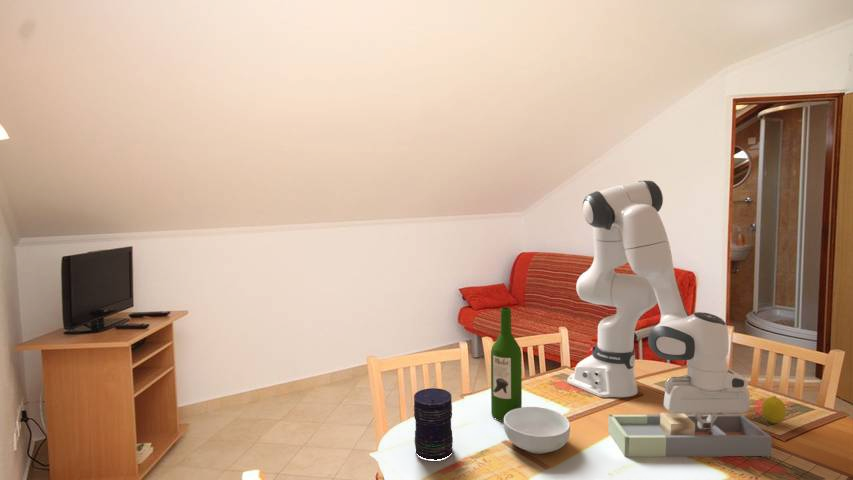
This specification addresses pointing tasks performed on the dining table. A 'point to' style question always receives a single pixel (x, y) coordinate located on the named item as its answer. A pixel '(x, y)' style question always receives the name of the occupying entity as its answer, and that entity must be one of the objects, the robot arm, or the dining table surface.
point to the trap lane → (689, 437)
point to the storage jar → (433, 423)
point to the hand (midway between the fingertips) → (704, 427)
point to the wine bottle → (505, 370)
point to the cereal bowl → (536, 429)
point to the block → (676, 424)
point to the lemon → (773, 409)
